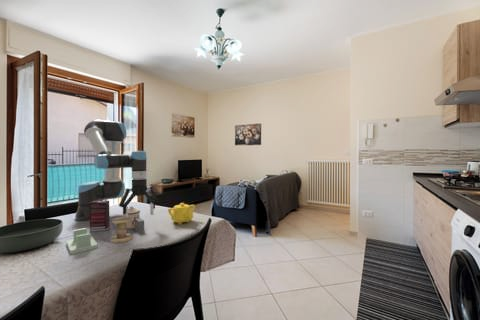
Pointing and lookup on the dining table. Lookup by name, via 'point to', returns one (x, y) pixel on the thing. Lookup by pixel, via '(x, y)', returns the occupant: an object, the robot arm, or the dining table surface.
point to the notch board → (75, 250)
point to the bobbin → (121, 230)
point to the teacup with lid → (132, 216)
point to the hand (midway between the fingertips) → (139, 216)
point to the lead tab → (139, 225)
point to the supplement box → (99, 215)
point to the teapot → (181, 213)
